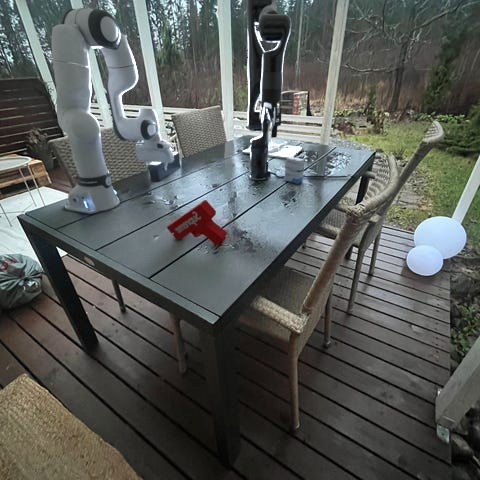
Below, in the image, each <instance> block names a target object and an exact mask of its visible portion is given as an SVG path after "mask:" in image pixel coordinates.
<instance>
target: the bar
mask: <svg viewBox="0 0 480 480" xmlns="http://www.w3.org/2000/svg"><path fill="white" fill-rule="evenodd" d="M179 153H180V152H179V151H178V152H177V151H173V155H174V161H173V162H171V163H168V165H167V170H166V171H164V170H163V167H164V166H165V164H164V162H150V163H149V164H148V168H149V169H148V172H149V178H150V181H154V182H161V181H162V180H164V179H165V178H166V177H168V176H169V175H171V174H172V173H174V172H175V171H177V170H178V169H180V168H181V160H180V154H179Z"/></svg>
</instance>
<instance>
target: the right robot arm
mask: <svg viewBox="0 0 480 480" xmlns="http://www.w3.org/2000/svg"><path fill="white" fill-rule="evenodd" d="M277 9H278V8H277V4H276V0H246V24H247V50H248V51H247V57H248V58H247V81H248V82H247V84H248V85H247V86H248V106H247V128H248V130H249V131H250V132H261V135H259V136H257V137H254V138H251V139H250V146H251V148H250V154H249V157H250V158H249V160H250V161H249V165H250V166H249V167H250V168H248V171H249V178H250V180H253V181H256V182H257V181H265V180H268V179H269V178H271V175H274V177H276V178H277V179H285V175H282V176H279V175H277V173H276V172H272V170H271V169H270V168H269V156H268V145H269V139H270V137H271V139H272V138H277V137H278V127H279V126H281V125H282V113H283V111H282V110H283V109H282V106H278V103H281V102H282V97H283V96H282V95H283V81H284V80H283V78H284V77H283V69H284V68H283V67H284V57H285V51H286V47H287V43H288V40H289V37H290V35H291V30H292V20H291V17H290V15H288V14H285V13H279V12H278V10H277ZM256 25H257V28H256ZM256 29H257V30H256ZM260 41H262V42H264V43H277V45H276V47H275V48H273V49H271V50H267V51H265V50H264V48H263V47H262V44H261V42H260ZM259 98H260V102H261V103H260V106H259V110H256V108H257V103H258V102H259ZM305 175H306V174H303V178H323V179H324V178H325V179H327V178H328V179H334V178H335V179H339V178H347V177H349V176H345V175H311V176H305ZM350 177H351V178H354V175H352V176H350Z"/></svg>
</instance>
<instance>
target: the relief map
mask: <svg viewBox="0 0 480 480" xmlns="http://www.w3.org/2000/svg"><path fill="white" fill-rule="evenodd" d="M302 147H303V146H294V145H292V144H290V143H289V142H288V141H284V142H282V143H280V144H279V143H278V142H276V141H273V140H272V138H269V145H268V157H271V158H277V159H285V160H286V159H287V158H289V157H296V156H297V155H298V154H299V153H300V152H302V151H303V150H304V148H303V149H302ZM250 148H251V145H250V146H249V147H248V148H247V149H245V150H242V153H243V154H247V155H248V154H249V155H250ZM296 153H297V154H296Z"/></svg>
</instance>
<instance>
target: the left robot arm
mask: <svg viewBox="0 0 480 480" xmlns="http://www.w3.org/2000/svg"><path fill="white" fill-rule="evenodd" d="M91 48H92V49H99V50H100V52H101V53H102V55H103V58H104V62H105V65H106V68H107V72H108V79H107V80H106V84H105V88H106V95H107V101H108V105H109V110H110V114H111V115H110V116H111V119H112V121H111V122H112V131H113V133H114V135H115V137H117V138H118V139H119V140H120V141H137V142H136V143H135V154H136V155H135V156H136V159H137V160H138V161H139V162H140V161H141V162H143V164H144V165H145V166H146V169H147V170H149V168H148V164H150V163H152V162H164V164H165V166H164V167H163V170H164V171H166V170H167V165H168V163H171V162H173V161H174V155H173V152H174V151H173V149H172V147H171V146H172V143H171V142H170V141H169V140H166V139H163V138H162V136H161V133H160V124H159V119H158V115H157V112H156V110H155V109H153V108H143V107H142V108H139V109H138V116H137V117H135V118H134V117H133V118H132V117H129V118H128V117H127V116H126V115H125V112H124V108H123V101H122V96H123V94H124V93H126V92H127V91H129V90H131V89H133V88H134V87H135V86H136V85H137V82H138V80H139V74H138V68H137V65H136V61H135V58H134V55H133V51H132V49H131V46H130V44H129V42H128V39H127V37H126V35H124V34H123V33H122V32H121V30H120V27H119V24H118V22H117V21H116V18H115V17H114V16H113V15H112V14H111V13H110V12H108V11H107V10H104V9H102V8H101V9H100V8H89V7H78V8H71V9H68V10H66V11H65V12H64V13H63V15H62V17H61V23H59V24H56V25H55V26H54V27H53V28H52V29H51V57H52V64H53V73H54V79H55V89H56V91H55V92H56V93H55V94H56V95H55V96H56V115H57V123H58V125H59V128H60V129H61V130H62V131H63V132H64V134H66V135H67V137H68V141H69V146H70V150H71V157H72V160H73V163H74V166H75V168H76V172H77V175H76V176H74V177H73V178H72V179H73V181H77V183H76V185H75V186H74V187H73V188H72V189H70V190H69V192H68V194H67V198H68V202H67V203H66V204H65V205H64V210H67V211H72V212H77V213H82V214H88V215H93V214H96V213H99V212H104V211H107V210H112V209H114V208H116V207H117V206H118V205H120V203H121V200H120V198H119V196H118V195H117V191H116V190H115V189H114V186H113V183H112V178H111V174H110V171H109V170H108V168H107V165H106V160H105V157H104V152H103V145H102V136H101V125H100V123H99V121H98V120H97V118H96V116H94V115H93V114H92V113H91V98H92V94H93V87H92V77H91V65H90V58H89V53H90V49H91ZM140 141H141V142H140ZM149 162H150V163H149Z"/></svg>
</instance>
